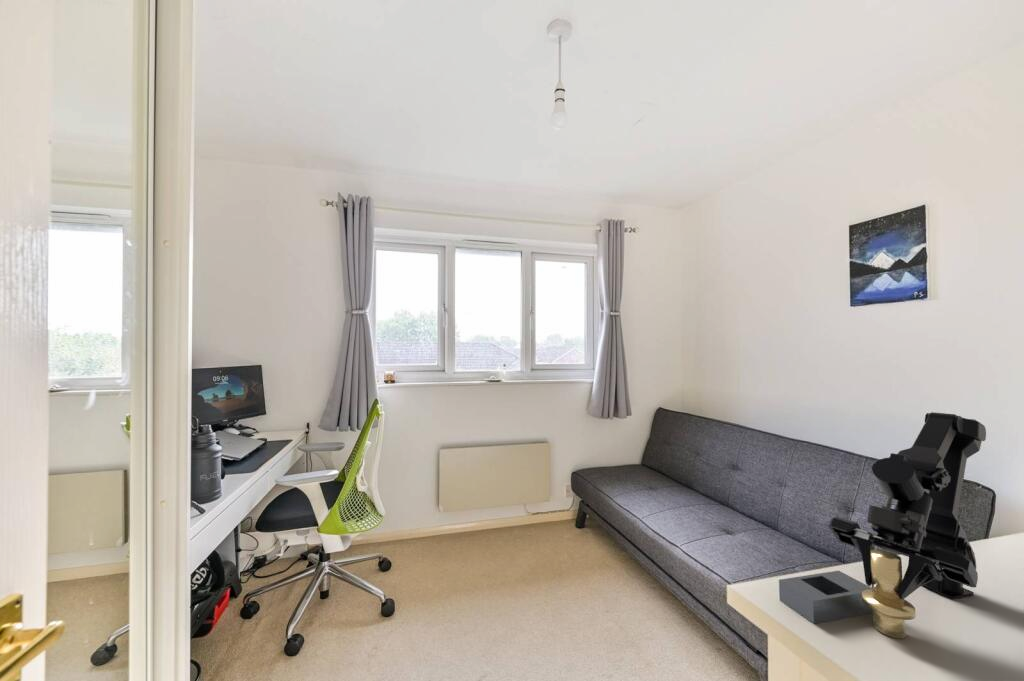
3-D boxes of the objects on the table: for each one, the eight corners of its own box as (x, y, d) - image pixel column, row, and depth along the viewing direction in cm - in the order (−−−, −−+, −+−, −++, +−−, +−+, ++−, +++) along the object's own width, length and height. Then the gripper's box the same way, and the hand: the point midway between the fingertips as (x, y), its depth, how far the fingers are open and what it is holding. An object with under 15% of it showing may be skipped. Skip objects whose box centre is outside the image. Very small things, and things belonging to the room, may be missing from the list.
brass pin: (881, 614, 72) (878, 543, 73) (927, 640, 66) (923, 562, 66) (853, 620, 71) (850, 547, 72) (897, 647, 64) (893, 567, 65)
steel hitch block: (839, 590, 80) (838, 570, 81) (877, 611, 74) (876, 590, 74) (779, 600, 77) (778, 579, 77) (813, 623, 70) (812, 601, 71)
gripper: (830, 475, 79) (805, 543, 74) (968, 506, 63) (948, 596, 57) (850, 507, 83) (827, 574, 77) (985, 544, 66) (968, 632, 61)
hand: (883, 591), depth 68 cm, fingers closed on brass pin, 4 cm apart
